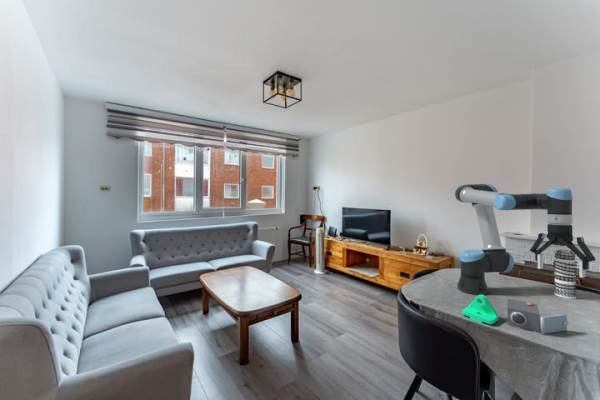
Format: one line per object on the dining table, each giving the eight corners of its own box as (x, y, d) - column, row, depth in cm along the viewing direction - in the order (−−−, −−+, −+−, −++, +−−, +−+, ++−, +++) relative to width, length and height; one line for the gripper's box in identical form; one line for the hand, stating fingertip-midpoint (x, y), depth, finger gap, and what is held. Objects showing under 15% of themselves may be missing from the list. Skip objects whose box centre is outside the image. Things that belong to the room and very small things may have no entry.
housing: (507, 326, 106) (507, 307, 106) (507, 314, 116) (507, 297, 116) (540, 334, 99) (540, 314, 99) (537, 320, 109) (537, 302, 109)
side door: (539, 332, 100) (539, 316, 100) (564, 329, 102) (564, 313, 102) (543, 334, 99) (543, 318, 98) (568, 331, 101) (568, 315, 101)
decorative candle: (581, 300, 128) (580, 252, 128) (556, 297, 133) (555, 251, 133) (573, 294, 136) (573, 249, 136) (550, 291, 141) (550, 248, 141)
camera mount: (461, 316, 116) (460, 294, 116) (468, 311, 120) (468, 290, 120) (491, 327, 106) (491, 303, 106) (498, 321, 110) (498, 299, 110)
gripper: (520, 222, 117) (520, 266, 118) (597, 227, 94) (598, 282, 94) (529, 221, 120) (530, 264, 120) (607, 226, 97) (608, 279, 97)
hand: (560, 272), depth 107 cm, fingers open, 13 cm apart
